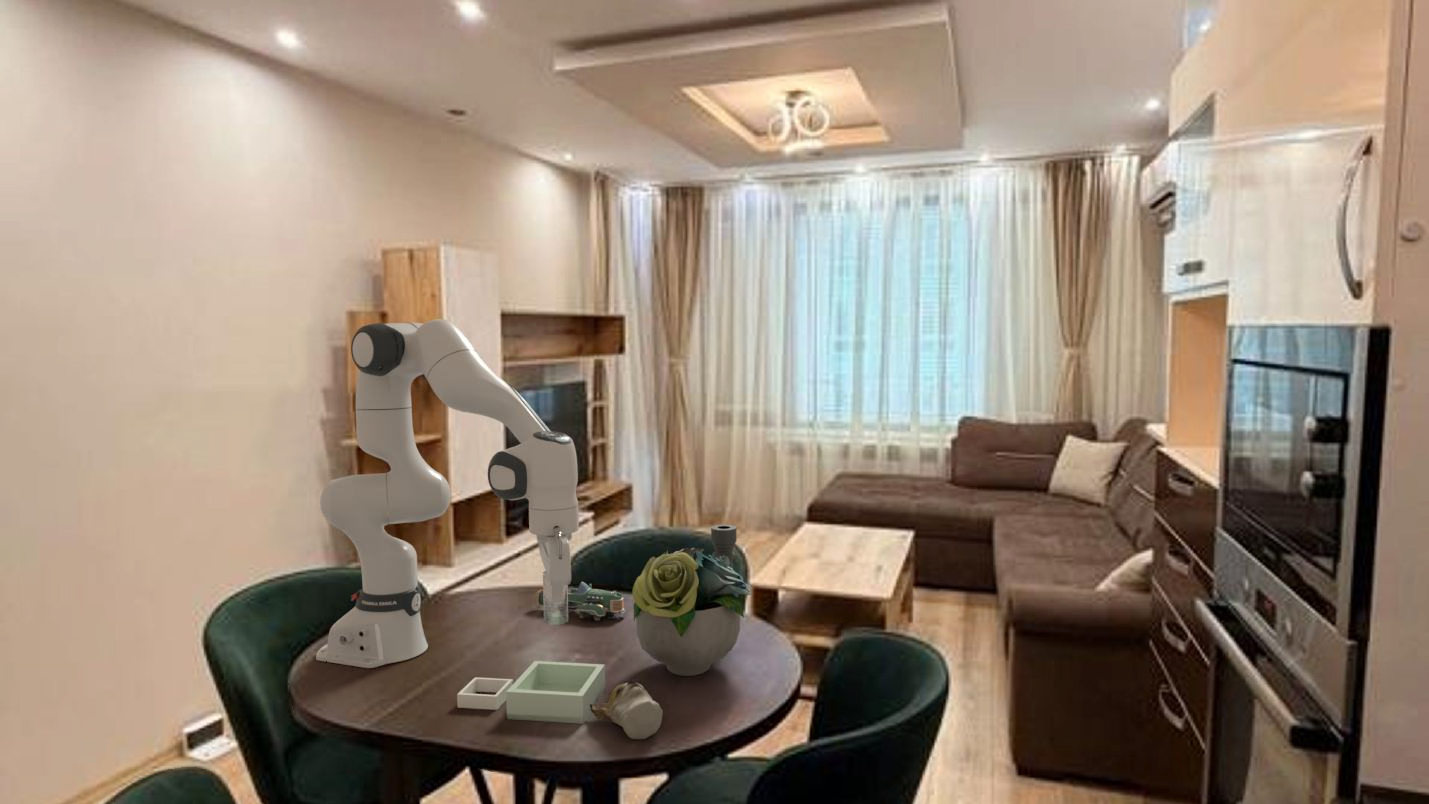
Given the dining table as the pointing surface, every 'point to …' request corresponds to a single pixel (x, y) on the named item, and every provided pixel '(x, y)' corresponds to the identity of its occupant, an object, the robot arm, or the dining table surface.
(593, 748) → the dining table surface
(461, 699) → the socket collar
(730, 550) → the candle holder
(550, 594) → the clear glass cylinder
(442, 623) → the dining table surface
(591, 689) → the tray
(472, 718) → the dining table surface
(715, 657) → the flower arrangement
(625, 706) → the ceramic sculpture
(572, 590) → the green metal elongated vehicle
